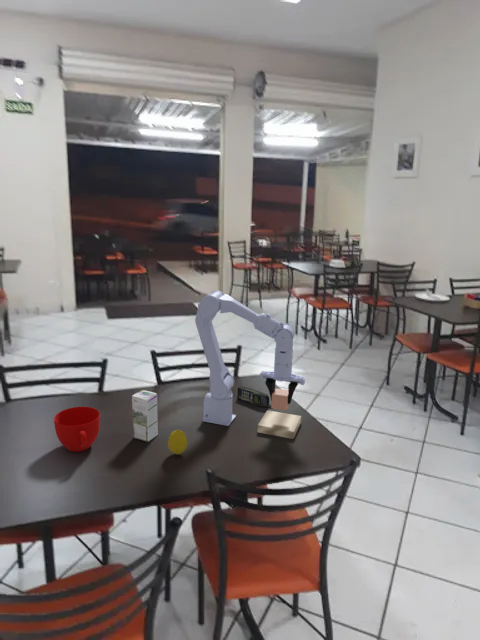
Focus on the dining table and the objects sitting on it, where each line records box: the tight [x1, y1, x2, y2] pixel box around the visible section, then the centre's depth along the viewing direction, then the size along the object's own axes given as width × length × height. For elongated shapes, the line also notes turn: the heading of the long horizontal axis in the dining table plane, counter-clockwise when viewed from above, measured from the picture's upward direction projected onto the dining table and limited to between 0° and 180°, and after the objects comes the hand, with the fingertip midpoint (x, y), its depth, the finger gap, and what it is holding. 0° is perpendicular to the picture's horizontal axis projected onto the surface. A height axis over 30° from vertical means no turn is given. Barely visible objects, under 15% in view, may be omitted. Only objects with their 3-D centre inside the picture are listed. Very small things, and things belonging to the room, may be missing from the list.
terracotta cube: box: [270, 387, 291, 412], centre depth 156 cm, size 5×5×5 cm
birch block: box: [257, 409, 302, 440], centre depth 159 cm, size 12×12×3 cm
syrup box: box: [131, 389, 159, 443], centre depth 148 cm, size 6×6×14 cm
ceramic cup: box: [53, 406, 101, 453], centre depth 140 cm, size 13×17×10 cm
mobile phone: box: [236, 386, 272, 408], centre depth 177 cm, size 5×3×15 cm
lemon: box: [167, 429, 188, 455], centre depth 139 cm, size 6×6×8 cm
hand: (281, 401), depth 157 cm, fingers closed on terracotta cube, 5 cm apart
